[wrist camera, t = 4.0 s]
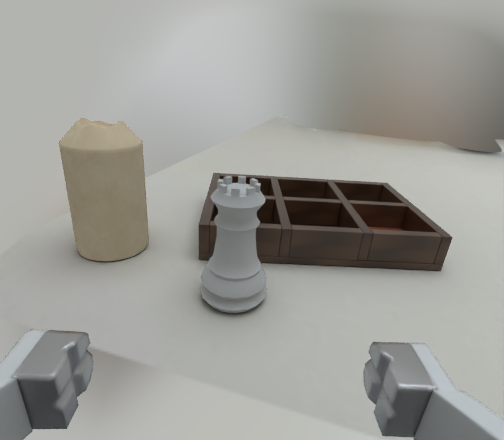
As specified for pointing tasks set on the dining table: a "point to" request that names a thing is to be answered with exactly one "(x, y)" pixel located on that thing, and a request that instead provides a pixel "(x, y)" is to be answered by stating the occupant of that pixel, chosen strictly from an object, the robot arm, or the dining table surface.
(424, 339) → the dining table surface
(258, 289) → the rook chess piece
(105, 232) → the candle
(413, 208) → the grid
